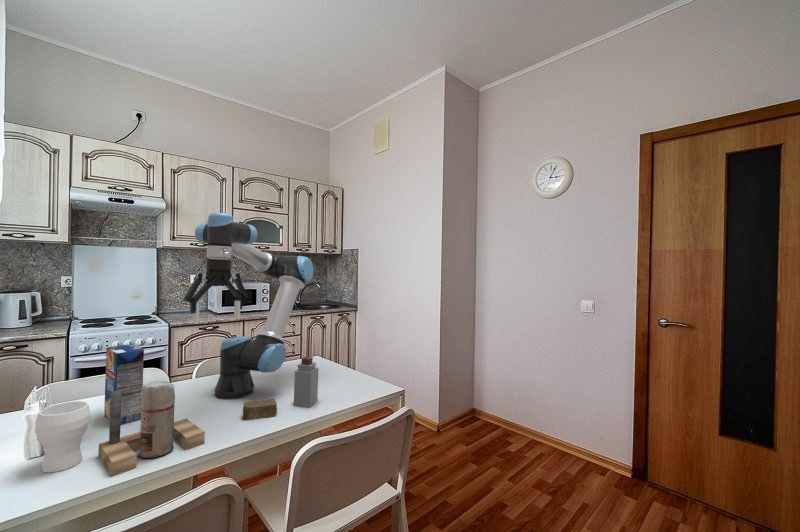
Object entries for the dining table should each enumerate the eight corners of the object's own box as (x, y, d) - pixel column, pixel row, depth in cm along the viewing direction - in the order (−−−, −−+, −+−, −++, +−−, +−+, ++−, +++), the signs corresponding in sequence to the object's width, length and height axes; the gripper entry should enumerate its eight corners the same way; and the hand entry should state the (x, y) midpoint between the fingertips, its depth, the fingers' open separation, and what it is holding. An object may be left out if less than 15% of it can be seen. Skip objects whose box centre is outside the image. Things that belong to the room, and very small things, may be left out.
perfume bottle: (309, 407, 134) (311, 360, 134) (293, 405, 135) (295, 359, 135) (317, 401, 140) (318, 356, 140) (301, 399, 142) (303, 355, 142)
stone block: (242, 414, 126) (243, 400, 126) (276, 410, 131) (276, 397, 131) (242, 421, 121) (242, 407, 121) (277, 417, 125) (277, 403, 125)
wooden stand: (98, 456, 97) (100, 393, 97) (185, 428, 114) (187, 375, 114) (112, 476, 88) (114, 407, 88) (204, 443, 105) (206, 385, 105)
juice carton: (104, 416, 121) (106, 347, 121) (130, 409, 127) (132, 344, 127) (114, 427, 114) (116, 353, 114) (141, 419, 120) (144, 349, 120)
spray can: (134, 452, 100) (136, 382, 100) (167, 441, 106) (169, 375, 106) (143, 463, 94) (145, 389, 94) (177, 451, 100) (180, 382, 100)
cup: (47, 480, 86) (49, 419, 86) (24, 469, 90) (26, 411, 90) (98, 458, 96) (99, 404, 96) (75, 450, 100) (77, 397, 100)
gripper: (183, 257, 107) (180, 326, 107) (259, 260, 127) (257, 318, 127) (173, 257, 112) (171, 323, 112) (248, 259, 131) (246, 316, 131)
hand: (217, 321), depth 119 cm, fingers open, 13 cm apart
